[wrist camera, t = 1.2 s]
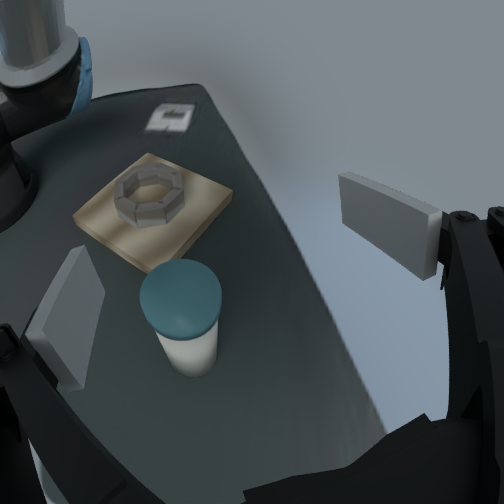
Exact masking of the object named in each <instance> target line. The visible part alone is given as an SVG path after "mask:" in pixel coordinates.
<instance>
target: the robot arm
mask: <svg viewBox="0 0 504 504" xmlns="http://www.w3.org/2000/svg"><path fill="white" fill-rule="evenodd" d="M0 51H1V54H2V55H1V57H0V232H2V231H3V230H5V229H7V228H8V227H10V226H11V225H12V224H14V223H15V222H16V221H17V220H18V219H19V218H20V217H21V216H22V215H23V214H24V213H25V212H26V210H27V209H28V208H29V206H30V205H31V203H32V201H33V200H34V198H35V195H36V192H37V187H38V184H37V179H36V177H35V175H34V172H33V170H32V169H31V167H30V166H29V165H28V164H27V163H26V162H25V161H24V160H23V159H22V158H21V157H20V156H19V155H18V154H17V153H16V151H15V150H14V149H13V147H12V145H11V142H12V141H14V140H16V139H18V138H20V137H22V136H24V135H27V134H29V133H31V132H34V131H36V130H38V129H41V128H43V127H46V126H48V125H50V124H53V123H56V122H58V121H61V120H63V119H67V118H69V117H70V116H71V115H74V114H76V113H78V112H81V111H83V110H84V109H86V108H87V107H88V105H89V103H90V101H91V97H92V84H93V81H92V73H91V70H92V61H91V53H90V47H89V44H88V41H87V39H86V38H84V37H78V35H77V33H76V32H75V30H74V29H72V28H71V27H69V26H66V25H65V14H64V0H0ZM338 176H339V186H340V197H341V209H342V223H343V224H345V225H346V226H347V227H349V228H350V229H352V230H353V231H355V232H356V233H358V234H359V235H361V236H362V237H363V238H365V239H366V240H368V241H369V242H371V243H372V244H374V245H375V246H376V247H378V248H379V249H381V250H382V251H383V252H385V253H386V254H387V255H389V256H390V257H391V258H393V259H394V260H396V261H397V262H399V263H400V264H401V265H402V266H404V267H405V268H407V269H408V270H409V271H410V272H412V273H413V274H414V275H416V276H417V277H419V278H420V279H421V280H422V281H424V280H426V279H428V278H430V277H432V276H434V275H436V270H437V263H438V261H439V262H440V263H442V264H443V265H444V269H443V275H442V281H441V287H440V290H442V289H443V287H444V288H445V297H446V308H447V320H448V336H449V405H448V412H447V416H446V419H441V420H437V421H432V422H431V421H430V420H429V418H428V417H427V416H426V415H425V413H423V414H422V415H420V416H419V417H417V418H415V419H414V420H412V421H410V422H409V423H407V424H405V425H404V426H402V427H400V428H398V429H396V430H395V431H393V432H391V433H389V434H387V435H386V436H385V437H384V438H382V439H381V440H380V441H379V442H378V443H377V444H376V445H374V446H373V447H372V448H371V449H370V450H368V451H367V452H366V453H365V454H363V455H362V456H361V457H360V458H358V459H357V460H356V461H355V462H353V463H352V464H351V465H349V466H347V467H344V468H340V469H335V470H330V471H324V472H318V473H311V474H304V475H297V476H291V477H288V478H285V479H282V480H279V481H276V482H272V483H269V484H266V485H262V486H259V487H255V488H252V489H248V490H244V491H243V493H244V496H245V499H246V501H245V502H243V503H241V504H504V207H500V206H498V207H491V208H489V209H488V217H487V219H486V220H480V219H479V218H478V217H477V216H476V215H475V214H473V213H470V212H467V211H455V212H452V213H450V215H449V214H447V213H445V212H443V211H442V210H440V209H438V208H436V207H433V206H431V205H429V204H427V203H425V202H423V201H420V200H418V199H416V198H414V197H411V196H409V195H407V194H404V193H402V192H400V191H397V190H395V189H393V188H390V187H387V186H385V185H383V184H380V183H378V182H375V181H373V180H370V179H368V178H365V177H363V176H360V175H357V174H355V173H352V172H348V173H344V174H339V175H338ZM104 295H105V290H104V288H103V286H102V284H101V282H100V279H99V277H98V275H97V273H96V270H95V268H94V266H93V264H92V261H91V259H90V257H89V254H88V252H87V249H86V247H85V245H82V246H79V247H77V248H74V249H71V251H70V253H69V254H68V256H67V258H66V259H65V261H64V262H63V264H62V266H61V267H60V269H59V271H58V273H57V274H56V276H55V278H54V279H53V281H52V283H51V285H50V287H49V288H48V290H47V292H46V294H45V296H44V298H43V299H42V301H41V303H40V305H39V306H38V307H37V308H36V309H35V311H34V312H33V313H32V315H31V317H30V319H29V320H30V321H28V323H27V325H26V328H25V329H24V331H23V333H22V335H21V338H20V340H19V338H18V337H17V335H16V334H15V332H14V330H13V329H12V327H11V326H10V325H9V324H8V323H7V324H2V325H0V504H47V502H46V499H45V496H44V493H43V490H42V487H41V484H40V481H39V478H38V474H37V471H36V468H35V464H34V460H33V457H32V453H31V448H30V444H29V440H30V442H31V444H32V446H33V448H34V449H35V451H36V453H37V454H38V456H39V458H40V460H41V461H42V463H43V465H44V466H45V468H46V470H47V471H48V473H49V475H50V476H51V478H52V479H53V481H54V482H55V484H56V485H57V487H58V488H59V490H60V491H61V493H62V494H63V495H64V497H65V498H66V500H67V501H68V502H69V504H165V503H164V502H163V501H162V500H161V499H159V498H158V497H157V496H156V495H155V494H153V493H152V492H151V491H150V490H149V489H148V488H146V487H145V486H144V485H143V484H142V483H141V482H140V481H139V480H137V479H136V478H135V477H134V476H133V475H132V474H131V473H130V472H129V471H128V470H127V469H126V468H125V467H124V466H123V465H122V464H121V463H120V462H119V461H118V460H117V459H116V458H115V457H114V456H113V455H112V454H111V453H110V452H109V451H108V450H107V449H106V448H105V447H104V446H103V445H102V444H101V443H100V442H99V440H98V439H97V438H96V437H95V436H94V435H93V434H92V433H91V432H90V430H89V429H88V428H87V427H86V426H85V425H84V423H83V422H82V421H81V420H80V419H79V417H78V416H77V415H76V414H75V412H74V411H73V410H72V409H71V407H70V406H69V405H68V404H67V402H66V401H65V400H64V398H63V397H62V396H61V395H60V393H59V392H58V391H57V390H56V388H57V384H58V381H59V383H60V384H61V385H62V386H63V388H64V389H65V390H66V391H67V392H69V391H75V390H81V389H84V384H85V378H86V373H87V368H88V363H89V358H90V353H91V348H92V344H93V339H94V335H95V330H96V326H97V322H98V318H99V314H100V310H101V306H102V303H103V299H104ZM28 438H29V440H28Z"/></svg>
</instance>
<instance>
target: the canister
mask: <svg viewBox="0 0 504 504" xmlns="http://www.w3.org/2000/svg"><path fill="white" fill-rule="evenodd" d="M221 301H222V290H221V286H220V283H219V280H218V278H217V277H216V275H215V274H214V273H213V272H212V270H210V269H209V268H208V267H207V266H205V265H204V264H202V263H200V262H197V261H194V260H190V259H174V260H169V261H166V262H164V263H162V264H160V265H158V266H156V267H155V268H154V269H153V270H151V271H150V272H149V274H148V275H147V276H146V278H145V279H144V281H143V283H142V286H141V289H140V304H141V307H142V310H143V312H144V314H145V316H146V319H147V321H148V322H149V324H150V326H151V327H152V328H153V329H154V330H155V331H156V334H157V336H158V338H159V340H160V342H161V344H162V346H163V348H164V350H165V352H166V354H167V356H168V358H169V360H170V362H171V364H172V366H173V368H174V369H175V370H176V371H177V372H179V373H180V374H182V375H184V376H187V377H199V376H202V375H204V374H206V373H208V372H209V371H210V370H211V369H212V368H213V366H214V364H215V362H216V358H217V329H218V318H219V316H220V312H221Z"/></svg>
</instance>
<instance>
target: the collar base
mask: <svg viewBox="0 0 504 504" xmlns="http://www.w3.org/2000/svg"><path fill="white" fill-rule="evenodd" d="M232 195H233V190H231V189H229V188H227V187H225V186H223V185H221V184H218V183H216V182H214V181H212V180H210V179H207V178H205V177H203V176H201V175H198V174H196V173H194V172H192V171H189V170H187V169H185V168H183V167H180V166H178V165H176V164H173V163H171V162H169V161H166V160H164V159H162V158H159V157H157V156H155V155H152V154H150V153H147V154H145V155H144V156H143V157H141V158H140V159H139V160H137V161H136V162H135V163H134V164H132V165H131V166H130V167H128V168H127V169H126V170H125V171H123V172H122V173H121V174H120V175H119V176H117V177H116V178H115V179H114V180H112V181H111V182H110V183H109V184H108V185H106V186H105V187H104V188H103V189H102V190H101V191H99V192H98V193H97V194H96V195H95V196H94V197H93V198H91V199H90V200H89V201H88V202H87V203H86V204H85V205H84V206H82V207H81V208H80V209H79V210H78V211H77V212H76V213H75V214H74V215H73V218H74V221H75V223H76V225H77V226H78V227H80V228H81V229H82V230H84V231H85V232H87V233H88V234H89V235H91V236H92V237H94V238H95V239H96V240H98V241H99V242H101V243H102V244H103V245H105V246H106V247H108V248H109V249H111V250H112V251H114V252H115V253H117V254H118V255H119V256H121V257H122V258H124V259H125V260H127V261H128V262H130V263H131V264H133V265H134V266H136V267H137V268H139V269H140V270H142V271H143V272H145V273H146V274H149V272H150V271H151V270H153V269H154V268H155V267H156V266H158V265H160V264H162V263H164V262H166V261H169V260H174V259H181V258H182V256H183V255H184V254H185V253H186V252H187V251H188V249H189V248H190V247H191V246H192V245H193V244H194V242H195V241H196V240H197V239H198V238H199V237H200V236H201V234H202V233H203V232H204V231H205V230H206V229H207V228H208V227H209V225H210V224H211V223H212V222H213V221H214V220H215V219H216V218H217V216H218V215H219V214H220V213H221V212H222V211H223V210H224V209H225V208H226V206H227V205H228V204H229V203H230V202H231V201H232Z"/></svg>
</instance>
